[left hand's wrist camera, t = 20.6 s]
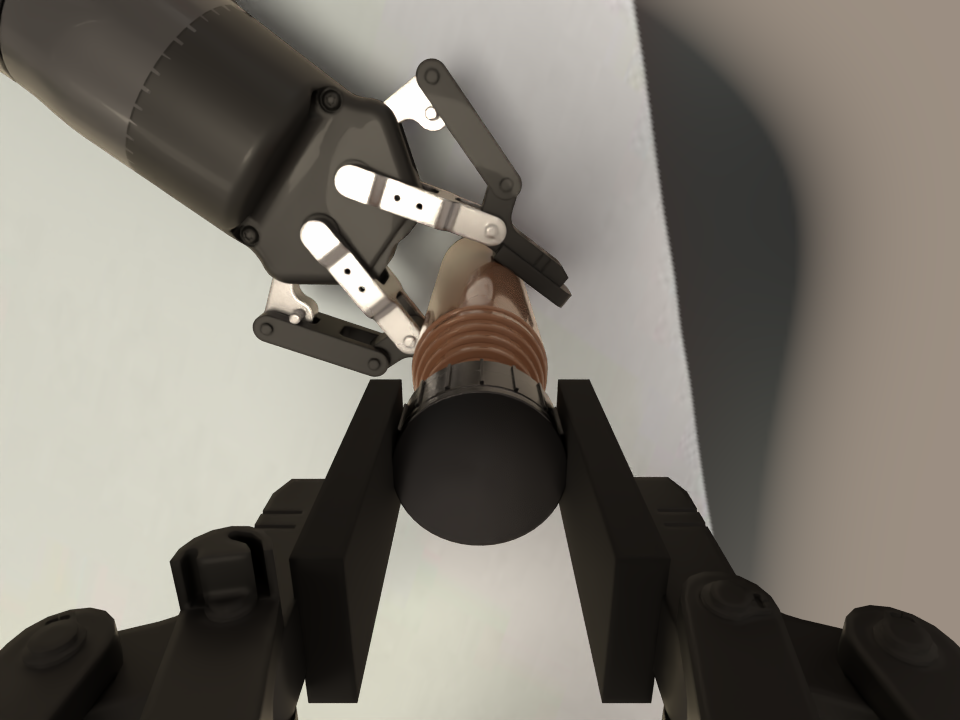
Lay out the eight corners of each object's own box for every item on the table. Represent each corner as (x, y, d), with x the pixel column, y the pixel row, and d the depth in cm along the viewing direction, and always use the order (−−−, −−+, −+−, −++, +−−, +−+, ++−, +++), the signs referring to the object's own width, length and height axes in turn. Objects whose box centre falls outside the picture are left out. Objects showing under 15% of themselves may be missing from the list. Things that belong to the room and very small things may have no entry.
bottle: (442, 230, 31) (390, 360, 13) (523, 237, 31) (584, 374, 13) (438, 308, 33) (385, 523, 14) (514, 314, 33) (559, 535, 14)
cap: (384, 372, 14) (370, 405, 12) (547, 345, 14) (557, 375, 12) (418, 510, 15) (410, 558, 14) (567, 487, 15) (579, 533, 13)
